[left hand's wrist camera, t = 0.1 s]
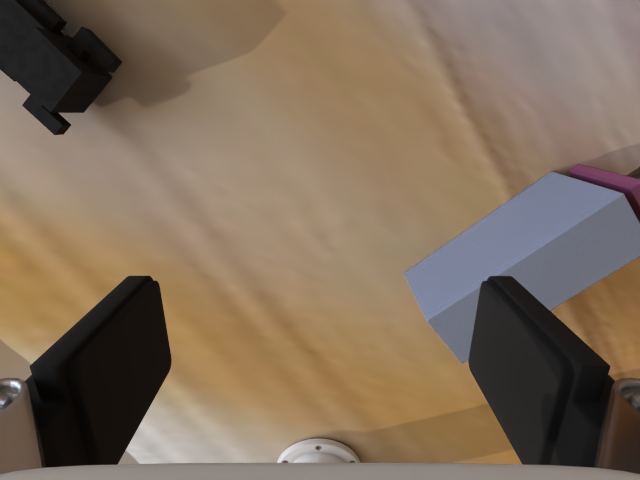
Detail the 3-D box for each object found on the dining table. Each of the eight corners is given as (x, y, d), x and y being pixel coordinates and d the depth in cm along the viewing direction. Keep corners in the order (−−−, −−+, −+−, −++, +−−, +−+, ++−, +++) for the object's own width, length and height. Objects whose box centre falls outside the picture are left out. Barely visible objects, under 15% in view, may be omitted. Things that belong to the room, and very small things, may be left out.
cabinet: (551, 171, 41) (624, 193, 31) (577, 214, 42) (653, 248, 33) (403, 273, 45) (426, 320, 35) (432, 309, 46) (462, 364, 37)
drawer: (625, 131, 38) (705, 139, 30) (645, 170, 40) (727, 188, 32) (432, 263, 43) (457, 300, 35) (455, 294, 45) (484, 336, 37)
